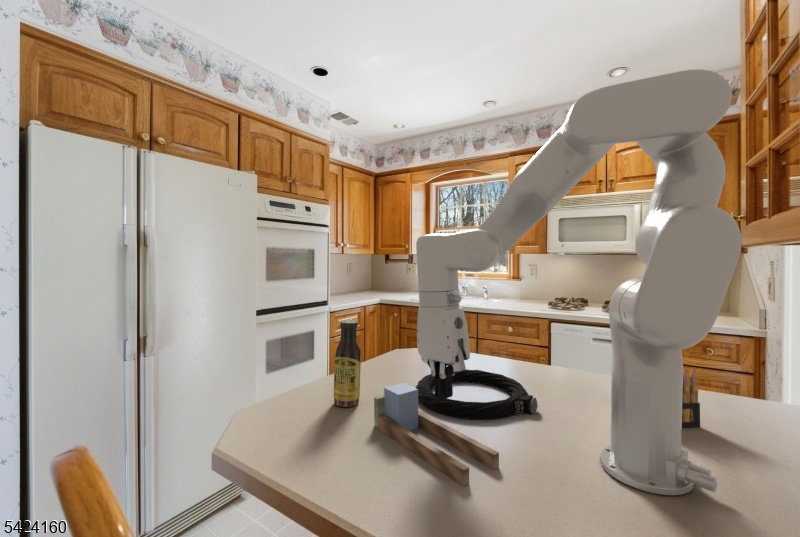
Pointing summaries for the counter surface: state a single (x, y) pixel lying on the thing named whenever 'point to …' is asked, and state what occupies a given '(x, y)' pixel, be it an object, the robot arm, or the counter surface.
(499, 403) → the cable lock
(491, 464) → the track
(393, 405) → the block
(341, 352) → the sauce bottle
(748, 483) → the counter surface
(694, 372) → the ammunition clip
